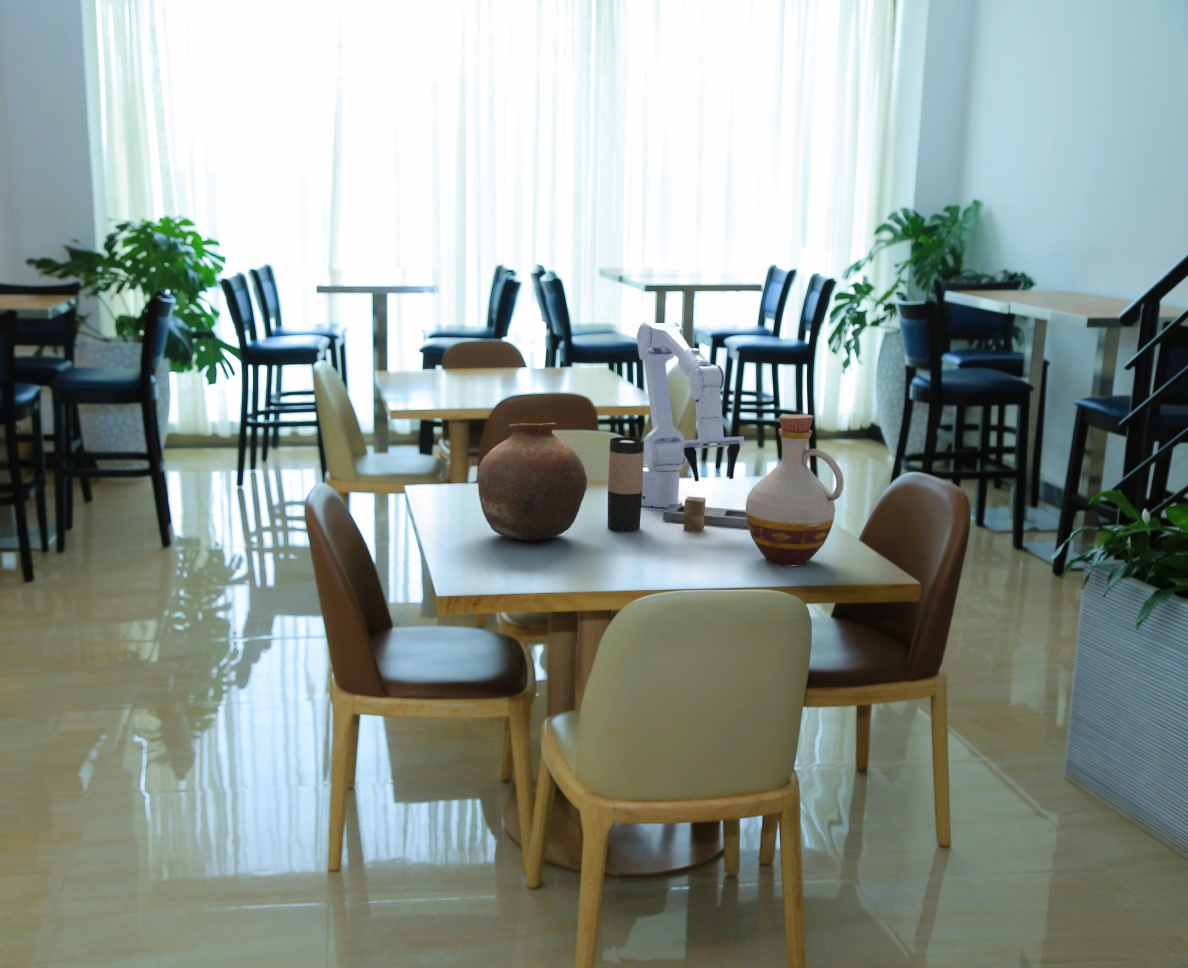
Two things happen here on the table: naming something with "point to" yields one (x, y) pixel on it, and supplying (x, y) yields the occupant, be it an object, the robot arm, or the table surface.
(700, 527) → the walnut peg
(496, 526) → the pottery
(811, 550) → the jug
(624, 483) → the travel mug
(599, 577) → the table surface
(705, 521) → the grey slotted board
